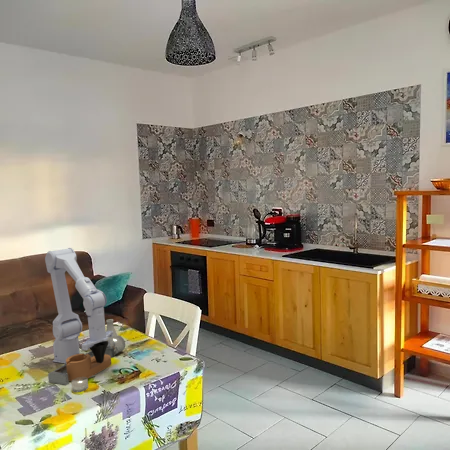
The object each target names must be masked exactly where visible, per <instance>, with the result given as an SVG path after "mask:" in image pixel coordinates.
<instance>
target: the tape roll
mask: <svg viewBox="0 0 450 450" xmlns="http://www.w3.org/2000/svg"><path fill="white" fill-rule="evenodd" d="M88 382H89V381H88V379H87V377H78V378H75V379H73V380H72V381H71V389H72V392H73V393H81V392H84V391H87V389H88V388H89V383H88Z"/></svg>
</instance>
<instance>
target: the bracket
mask: <svg viewBox="0 0 450 450" xmlns="http://www.w3.org/2000/svg"><path fill="white" fill-rule="evenodd" d="M84 354H86V353H85V352H84V353H83V352H82V353H80V354H76V355H72V356H70V357H68V358H67V359H66V363H65V364H66V368H67V373H66V374H68V382H72V380H73V379H75V378H78V377H87V380H88V379H90V378H91V377H94V376H95V375H96V374H98V373H100V372H102V371H103V370H105V369H107V368H109V367H111V365H112V357H111V356H110V355H106V354H105V355H104V360H103V362H102V363H97V362H96V359H95V356H93V357H91V356H90V355H89V354H86V355H84Z"/></svg>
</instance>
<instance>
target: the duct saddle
mask: <svg viewBox="0 0 450 450" xmlns="http://www.w3.org/2000/svg"><path fill="white" fill-rule="evenodd" d="M107 341H108V346H107V348H106V351H105V354H106V355H110V356H111V358H114V357H115V356H116V355H118V354H119V353H121V352H123V350H125V349H126V341H125V339H124V338H123V337H122V336H120V335H117V336H114V337H113V338H111V339H109V340H107ZM86 354H89V355H90V356H91V357H93V356H94V354H93V352H92V351H91V350H89V351H88V352H86V353H84V355H86ZM47 377H48V379H47V380H48V382H49V383H52V384H57V385H62V386H67V385H69V384H70V383H69V382H70V381H69V380H68V374H67V368H66V363H64V364H63V365H62V366H60V367H58V368H56V369H55V370H52V371H50V372H49V373H47Z"/></svg>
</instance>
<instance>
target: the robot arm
mask: <svg viewBox="0 0 450 450" xmlns="http://www.w3.org/2000/svg"><path fill="white" fill-rule="evenodd" d="M77 257H78V256H77V253H76V251H75V250H74V249H73V247H67V248H63V249H56V250H48V251H47V253H46V254H45V257H44V261H45V265H46V267H45V268H46V271H47V273H49V274H50V280H51V282H52V289H53V294H54V298H55V303H56V304H55V305H56V308H57V313H58V315H56V317H55V318H54V320H53V321H52V335H53V337H54V338H55V339H54V341H53V344H52V349H53V357H54V359H53V360H52V362H54V363H59V364H66V359H67V358H68V357H70V356H72V355H76V354H81V352H80V341H79V340H80V339H79V337H80V336H81V334H80V333H82V332H83V323H82V321H81V319H80V315H79V314H77V313H75V312H74V311H73V309H72V304H71V299H70V294H69V290H68V288H69V287H68V283H67V278H66V272H67V273H68V275H69V276H70V277H71V278H72V280H74V282H75V285H74V287H75V289H76V290H77V292H78V293H79V295H80V296H81V297H82V300H83V302H82V304H83V308H84V310H85V314H86V316H87V322H88V334H89V335H88V336H89V338H88V339H87V340H86V341H84V342H83V343H82V344H81V350H82V351H88V350H90V351H92V352H93V354H94V356H95V359H96V362H97V363H102V362H103V360H104V355H105V351H106V348H107V346H108V341H106V340H108V338H109V337H113V331H107V332H106V330H107V329H106V321H105V308H104V307H106V305H107V296H106V294H105V293H104V292H103V291H102V290H100V289H97V288H96V286H95V284H94V283H93V281H91V279H90V277H86V276H84V274H83V272H82V270H81V268H80V266H79V264H78V261H77V259H78V258H77Z"/></svg>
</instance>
